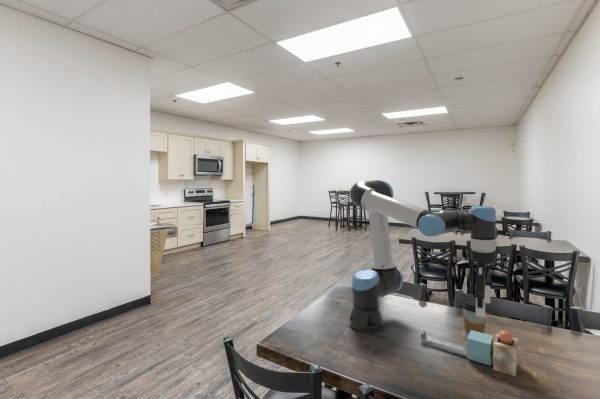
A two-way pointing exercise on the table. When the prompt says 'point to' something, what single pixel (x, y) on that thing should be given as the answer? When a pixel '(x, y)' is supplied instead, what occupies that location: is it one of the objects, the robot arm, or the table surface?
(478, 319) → the coffee cup
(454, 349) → the rail
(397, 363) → the table surface
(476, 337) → the block
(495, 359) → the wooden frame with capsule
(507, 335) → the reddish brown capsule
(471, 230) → the robot arm
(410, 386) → the table surface
